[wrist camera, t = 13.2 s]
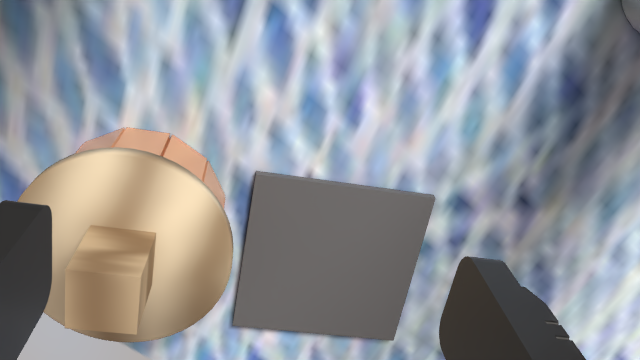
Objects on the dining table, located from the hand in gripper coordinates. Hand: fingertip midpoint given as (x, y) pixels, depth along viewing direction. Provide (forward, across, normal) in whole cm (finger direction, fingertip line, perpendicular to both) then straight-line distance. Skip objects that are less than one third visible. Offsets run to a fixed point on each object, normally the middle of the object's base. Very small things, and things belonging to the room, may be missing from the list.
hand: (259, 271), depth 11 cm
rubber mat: (+30, -8, +18) cm, 36 cm away
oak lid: (+24, +7, +15) cm, 29 cm away
